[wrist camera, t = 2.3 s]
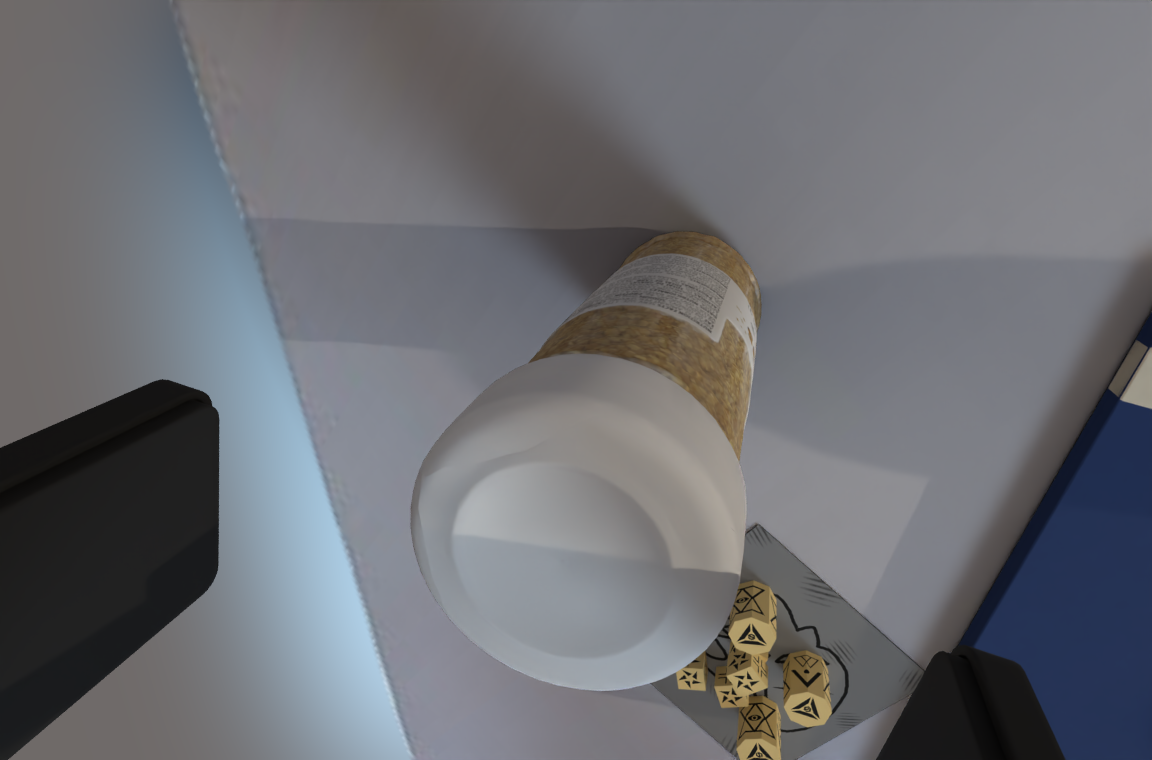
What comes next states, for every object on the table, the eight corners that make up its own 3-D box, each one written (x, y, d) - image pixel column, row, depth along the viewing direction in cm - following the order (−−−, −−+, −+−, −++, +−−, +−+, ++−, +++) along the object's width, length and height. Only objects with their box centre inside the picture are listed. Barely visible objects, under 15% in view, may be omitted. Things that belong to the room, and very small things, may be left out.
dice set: (753, 572, 24) (751, 609, 22) (863, 669, 24) (870, 713, 22) (655, 646, 26) (646, 685, 24) (756, 734, 26) (755, 779, 24)
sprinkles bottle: (735, 392, 22) (679, 753, 10) (596, 348, 22) (381, 634, 10) (785, 249, 20) (795, 475, 8) (631, 207, 20) (419, 353, 8)
